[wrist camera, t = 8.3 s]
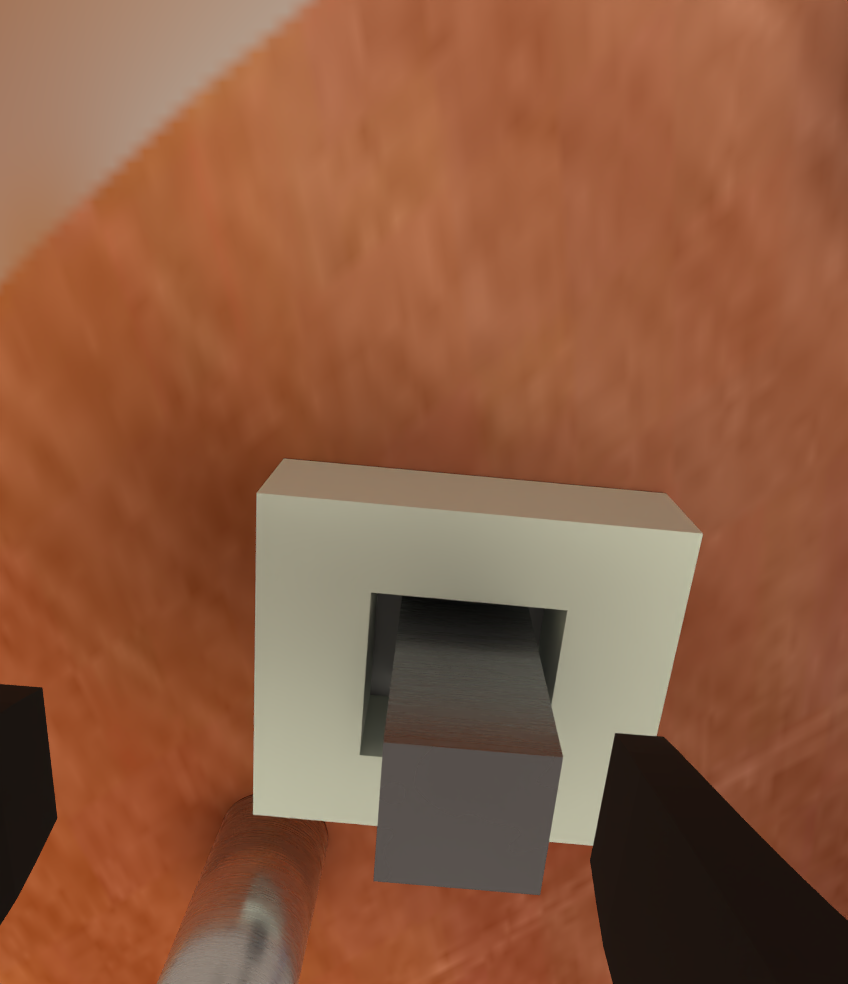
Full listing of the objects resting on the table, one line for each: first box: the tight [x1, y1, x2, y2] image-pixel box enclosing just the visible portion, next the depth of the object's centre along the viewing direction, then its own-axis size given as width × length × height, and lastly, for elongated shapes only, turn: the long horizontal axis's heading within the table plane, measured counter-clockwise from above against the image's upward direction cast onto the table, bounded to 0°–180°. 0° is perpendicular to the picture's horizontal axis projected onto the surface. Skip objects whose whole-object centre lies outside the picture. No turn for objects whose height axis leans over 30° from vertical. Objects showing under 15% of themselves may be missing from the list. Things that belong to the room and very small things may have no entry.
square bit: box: [374, 595, 563, 895], centre depth 16 cm, size 3×3×7 cm
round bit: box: [157, 795, 328, 984], centre depth 19 cm, size 3×3×7 cm
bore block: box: [253, 459, 703, 846], centre depth 19 cm, size 10×9×3 cm
